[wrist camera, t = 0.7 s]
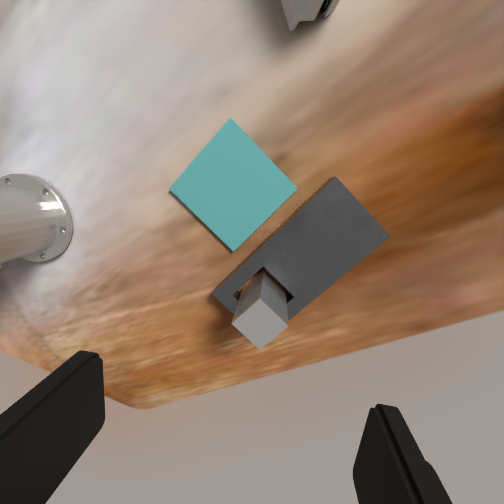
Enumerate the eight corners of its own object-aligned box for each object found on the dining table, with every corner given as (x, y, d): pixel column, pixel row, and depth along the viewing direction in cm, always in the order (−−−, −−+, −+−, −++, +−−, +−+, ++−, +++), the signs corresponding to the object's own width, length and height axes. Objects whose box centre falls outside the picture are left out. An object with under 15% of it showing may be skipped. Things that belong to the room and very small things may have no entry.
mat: (234, 250, 37) (233, 251, 36) (170, 188, 35) (169, 188, 35) (297, 188, 34) (297, 188, 33) (231, 118, 32) (230, 117, 32)
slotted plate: (263, 332, 40) (262, 341, 37) (215, 287, 38) (211, 294, 36) (382, 232, 34) (390, 236, 32) (331, 177, 33) (335, 176, 31)
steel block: (263, 308, 39) (259, 349, 29) (242, 288, 38) (231, 323, 28) (285, 289, 38) (288, 326, 28) (264, 268, 37) (259, 298, 27)
